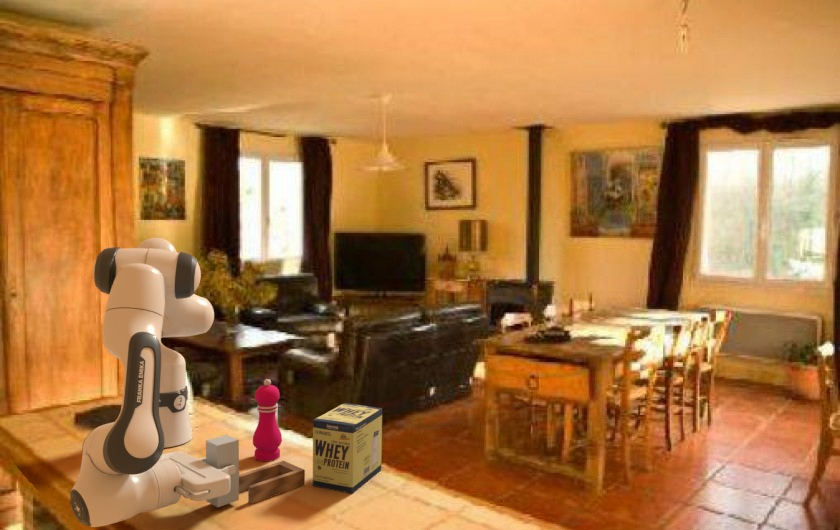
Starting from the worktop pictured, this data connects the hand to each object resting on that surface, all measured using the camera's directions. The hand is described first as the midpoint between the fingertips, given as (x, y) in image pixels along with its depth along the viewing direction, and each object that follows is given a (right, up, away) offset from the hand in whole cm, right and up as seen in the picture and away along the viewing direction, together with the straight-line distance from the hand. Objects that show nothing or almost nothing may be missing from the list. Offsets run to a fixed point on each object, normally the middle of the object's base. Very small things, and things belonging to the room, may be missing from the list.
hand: (226, 464), depth 139 cm
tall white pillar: (-1, -8, 0) cm, 8 cm away
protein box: (+24, -8, +15) cm, 30 cm away
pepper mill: (+2, -7, +28) cm, 29 cm away
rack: (+7, -8, +8) cm, 14 cm away
